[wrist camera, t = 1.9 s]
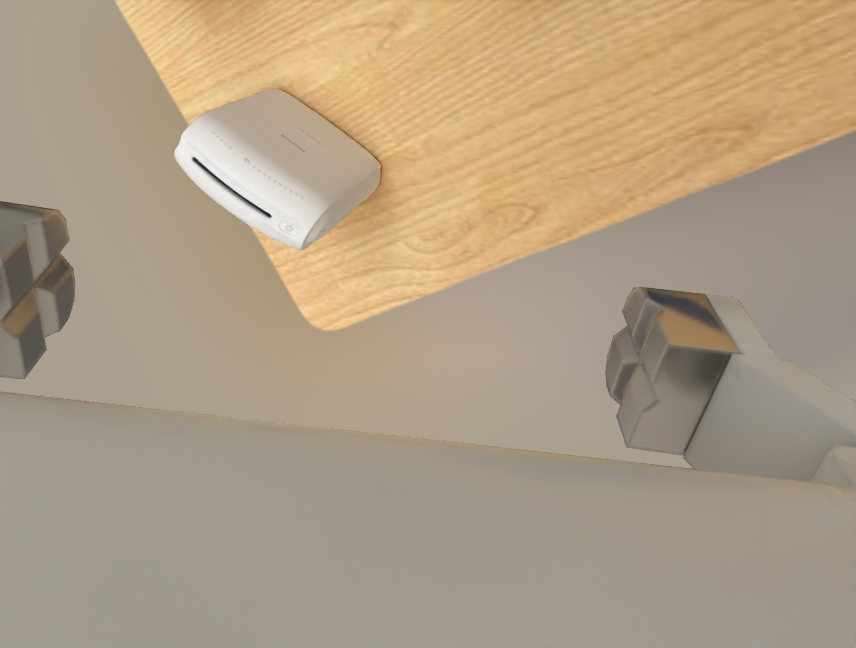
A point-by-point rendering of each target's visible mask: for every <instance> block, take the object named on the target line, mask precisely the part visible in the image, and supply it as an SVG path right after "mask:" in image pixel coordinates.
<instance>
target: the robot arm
mask: <svg viewBox="0 0 856 648" xmlns="http://www.w3.org/2000/svg"><path fill="white" fill-rule="evenodd" d="M68 242H69V235H68V229H67V223H66V219H65V217H64V216H63V215H62V213H61V212H60V211H59V210H55V209H48V208H42V207H35V206H28V205H22V204H15V203H8V202H1V201H0V377H4V378H16V379H25V378H26V377H27V375H28V373H30V371H31V370H32V369H33V367H34V366H35V365H36V363H37V362H38V360H39V359H40V358H41V356H42V355H43V354H44V352H45V351H46V344H45V337H47V336H50V335H52V334H54V333H56V332H59V331H60V330H61V329H62V328H63V326H64V325H65V323H66V322H67V320H68V319H69V316H70V313H71V309H72V306H73V303H74V297H75V278H74V270H73V267H72V266H71V265H70V264H69V263H68V262H67V260H66V259H65V258H64V257H63V256H62V255H61V253H60V252H61V251H62V249H63V248H64V247H65V245H66V244H67V243H68ZM622 313H623V315H624V318H625V320H626V323H627V326H626V327H625V328H624V329H622V330H621V331H620V332H618V333H617V334H616V335H614V336H613V339H612V342H611V345H610V348H609V352H608V355H607V364H606V383H607V388H608V391H609V395H610V397H612V398H613V399H614V400H615V401H616V402H618V403H619V404H620V408H619V411H618V413H617V416H616V417H617V420H618V423H619V426H620V429H621V432H622V435H623V438H624V441H625V444H626V447H627V448H633V449H640V450H648V451H655V452H662V453H670V454H676V455H683V456H684V457H683V458H684V459H685V460H686V461H687V462H688V463H689V464H690V465H691V466H692V467H693V469H690V468H681V467H672V466H663V465H654V464H645V463H635V462H626V461H617V460H608V459H600V458H591V457H582V456H573V455H563V454H555V453H545V452H537V451H528V450H519V449H509V448H501V447H492V446H483V445H474V444H465V443H456V442H446V441H438V440H429V439H420V438H411V437H402V436H394V435H385V434H375V433H366V432H358V431H348V430H340V429H331V428H322V427H312V426H304V425H294V424H286V423H277V422H268V421H258V420H250V419H240V418H232V417H223V416H214V415H204V414H196V413H187V412H178V411H169V410H159V409H152V408H143V407H134V406H123V405H115V404H106V403H98V402H89V401H80V400H71V399H62V398H53V397H44V396H35V395H26V394H17V393H8V392H0V648H856V401H855V400H853V399H851V398H850V397H848V396H846V395H845V394H843V393H841V392H840V391H838V390H837V389H835V388H833V387H831V386H830V385H828V384H827V383H825V382H823V381H822V380H820V379H818V378H817V377H815V376H814V375H812V374H810V373H809V372H807V371H805V370H804V369H802V368H800V367H799V366H797V365H795V364H794V363H792V362H791V361H788V360H781V359H778V357H777V356H776V354H775V353H774V351H773V350H772V348H771V347H770V345H769V344H768V342H767V341H766V339H765V338H764V336H763V335H762V333H761V332H760V330H759V329H758V327H757V326H756V324H755V323H754V321H753V320H752V318H751V317H750V315H749V314H748V312H747V311H746V309H745V308H744V306H743V305H742V303H741V302H740V300H738V299H735V298H734V297H728V296H716V295H705V294H701V293H692V292H683V291H673V290H664V289H655V288H645V287H635V288H633V289H632V291H631V293H630V294H629V296H628V297H627V300H626V303H625V305H624V308H623V311H622Z"/></svg>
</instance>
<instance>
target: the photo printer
mask: <svg viewBox="0 0 856 648" xmlns="http://www.w3.org/2000/svg"><path fill="white" fill-rule="evenodd" d="M174 156H175V159H176V160H177V162H178V163H179V165H180V166H181V167H182V169H183V170H184V171H185V173H186V174H187V175H188V176H189V177H190V178H191V179H192V180H193V181H194V182H195V183H196V184H197V185H198V186H199V187H200V188H201V189H202V190H203V191H204V192H205V193H207V194H208V195H209V196H210V197H211V198H212V199H214V200H215V201H216V202H217V203H218V204H219V205H221V206H223V207H224V208H225V209H226V210H227V211H228V212H230V213H233V214H234V215H235V216H236V217H238V218H239V219H240V220H242V221H244V222H245V223H246V224H248V225H250V226H251V227H253V228H255V229H256V230H258V231H259V232H261V233H263V234H265V235H266V236H268V237H270V238H272V239H274V240H276V241H278V242H280V243H282V244H284V245H287V246H290V247H292V248H296V249H299V250H304V249H306V248H307V247H308V246H309V245H310V244H312V243H313V242H314V241H316V240H318V239H319V238H321V237H322V236H323V235H324V234H326V233H327V232H328V231H329V230H330V229H332V228H333V227H334V226H335V225H336V224H338V223H339V222H340V221H341V220H342V219H344V218H345V217H346V216H347V215H348V214H349V213H351V212H352V211H353V210H354V209H355V208H356V207H358V206H359V205H360V204H361V203H362V202H363V201H365V200H366V199H367V198H368V197H369V196H370V195H372V194H373V193H374V192H375V190H376V189H377V187H378V186H379V183H380V178H381V170H380V168H381V164H380V163H379V162H378V161H377V160H376V159H375V158H374V157H373V156H372V155H371V154H370V153H369V152H368V151H367V150H365V149H364V148H363V147H362V146H360V145H359V144H358V143H356V142H355V141H354V140H353V139H351V138H350V137H349V136H347V135H346V134H345V133H343V132H342V131H341V130H339V129H338V128H337V127H335V126H334V125H333V124H331V123H330V122H328V121H327V120H326V119H325V118H323V117H322V116H320V115H319V114H317V113H316V112H314V111H313V110H312V109H310V108H309V107H307V106H306V105H304V104H303V103H302V102H300V101H299V100H297V99H296V98H294V97H293V96H291V95H289V94H288V93H286V92H284V91H281V90H279V89H277V88H272V89H269V90H266V91H263V92H260V93H257V94H254V95H252V96H249V97H246V98H243V99H241V100H238V101H235V102H233V103H230V104H227V105H224V106H222V107H219V108H216V109H214V110H211V111H209V112H206V113H204V114H202V115H200V116H199V117H198V118H196V119H195V120H194V121H193V122H192V123H191V124H190V125H189V126H188V127H187V129H186V130H185V131H184V133H183V134H182V136H181V140H180V143H179V145H178V147H177V148H176V150H175V153H174Z"/></svg>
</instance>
